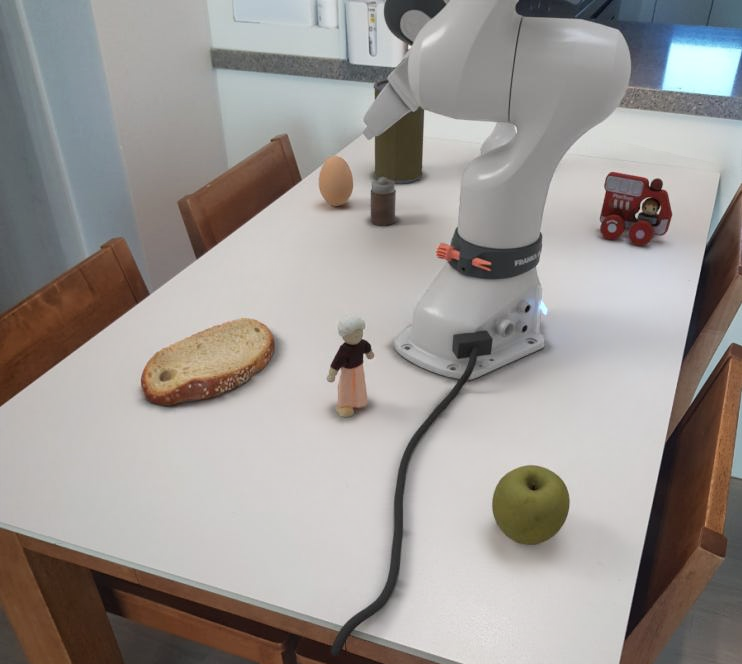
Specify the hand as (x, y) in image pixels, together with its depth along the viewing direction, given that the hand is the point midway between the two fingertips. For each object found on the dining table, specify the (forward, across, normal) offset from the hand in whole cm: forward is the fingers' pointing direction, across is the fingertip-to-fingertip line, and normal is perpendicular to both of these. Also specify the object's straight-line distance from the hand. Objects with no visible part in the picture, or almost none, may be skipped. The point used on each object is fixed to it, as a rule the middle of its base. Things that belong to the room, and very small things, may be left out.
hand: (381, 123), depth 130 cm
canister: (+21, -21, +8) cm, 30 cm away
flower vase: (+10, -36, +22) cm, 44 cm away
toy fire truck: (-16, -14, +44) cm, 48 cm away
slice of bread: (+2, +58, +11) cm, 59 cm away
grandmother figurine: (-13, +56, +26) cm, 63 cm away
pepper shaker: (+11, +2, +12) cm, 17 cm away
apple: (-33, +67, +45) cm, 87 cm away
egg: (+20, 0, +4) cm, 21 cm away
